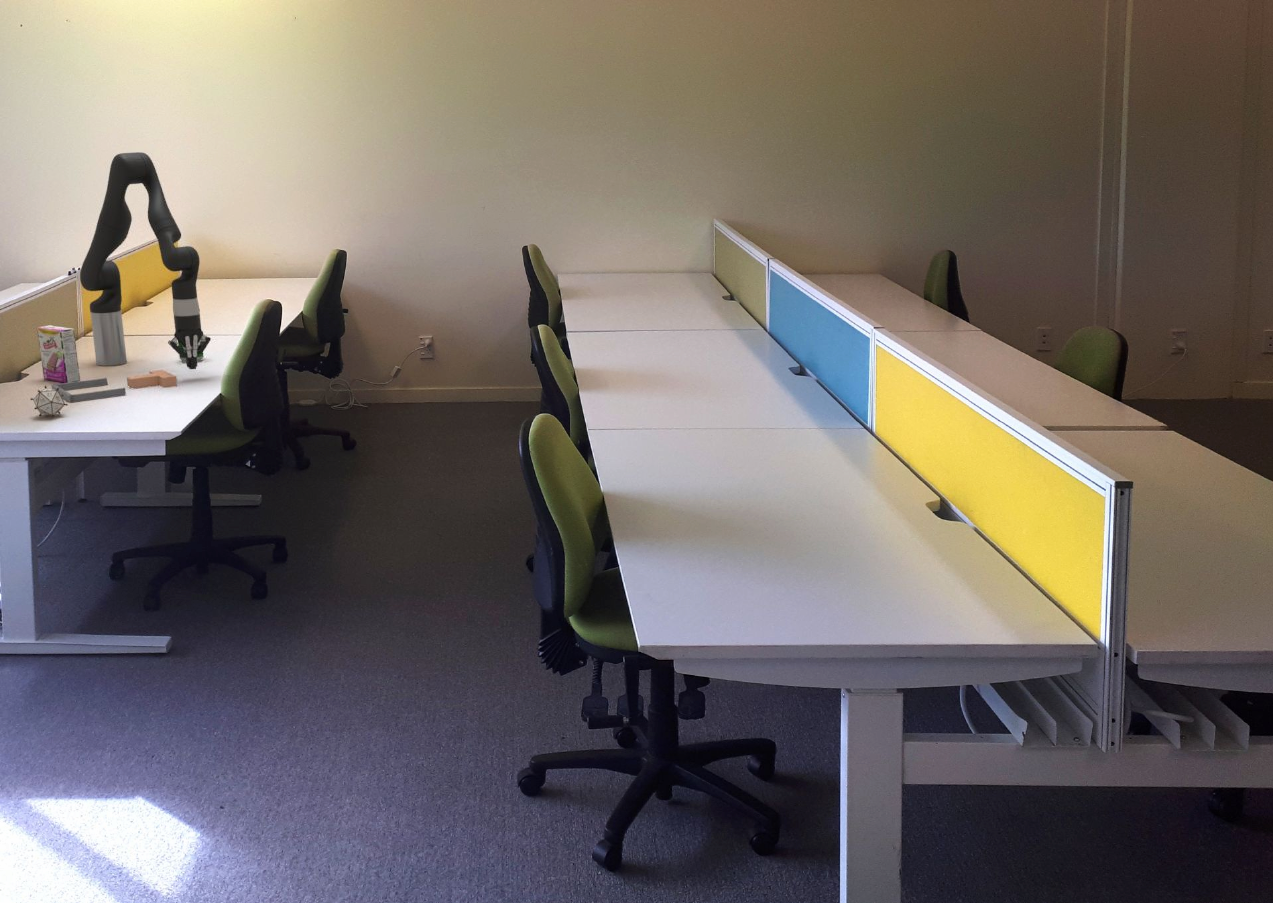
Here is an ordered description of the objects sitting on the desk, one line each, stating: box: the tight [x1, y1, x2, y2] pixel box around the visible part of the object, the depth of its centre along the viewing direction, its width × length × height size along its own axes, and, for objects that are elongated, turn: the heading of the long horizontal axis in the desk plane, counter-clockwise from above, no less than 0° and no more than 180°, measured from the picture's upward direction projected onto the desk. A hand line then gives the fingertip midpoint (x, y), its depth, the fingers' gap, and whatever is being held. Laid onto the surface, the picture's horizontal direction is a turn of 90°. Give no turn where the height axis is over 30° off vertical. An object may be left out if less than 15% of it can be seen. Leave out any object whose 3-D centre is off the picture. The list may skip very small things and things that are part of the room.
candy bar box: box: [36, 324, 81, 384], centre depth 371 cm, size 11×5×16 cm, turn 62°
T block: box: [126, 369, 178, 389], centre depth 368 cm, size 12×12×3 cm
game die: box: [30, 385, 69, 419], centre depth 330 cm, size 9×8×10 cm
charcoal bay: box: [51, 377, 127, 403], centre depth 357 cm, size 18×16×2 cm
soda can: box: [177, 339, 204, 363], centre depth 401 cm, size 8×8×12 cm
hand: (192, 368), depth 375 cm, fingers closed
